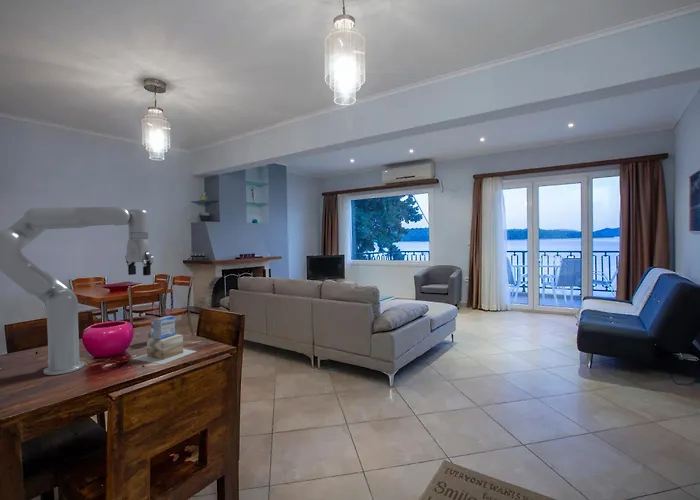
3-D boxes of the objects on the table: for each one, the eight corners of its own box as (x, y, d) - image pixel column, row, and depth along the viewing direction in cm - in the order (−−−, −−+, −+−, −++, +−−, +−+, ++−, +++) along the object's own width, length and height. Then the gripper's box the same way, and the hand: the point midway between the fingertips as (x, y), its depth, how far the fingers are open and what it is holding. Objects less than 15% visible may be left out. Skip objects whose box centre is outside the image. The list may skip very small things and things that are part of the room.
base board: (132, 360, 148) (132, 358, 148) (168, 348, 165) (168, 346, 165) (161, 366, 141) (161, 364, 141) (197, 353, 157) (197, 351, 157)
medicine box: (161, 339, 148) (160, 319, 148) (152, 339, 149) (152, 319, 149) (175, 334, 156) (174, 315, 155) (167, 334, 157) (167, 315, 157)
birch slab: (147, 347, 150) (146, 338, 150) (167, 341, 159) (167, 333, 159) (163, 350, 146) (163, 341, 146) (183, 343, 155) (182, 335, 155)
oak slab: (147, 356, 150) (147, 347, 150) (167, 350, 159) (167, 341, 159) (163, 359, 146) (163, 350, 146) (183, 352, 155) (183, 343, 155)
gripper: (117, 237, 155) (118, 275, 155) (143, 236, 148) (144, 276, 148) (133, 237, 162) (134, 273, 162) (159, 236, 155) (160, 274, 155)
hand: (139, 274), depth 155 cm, fingers open, 9 cm apart
